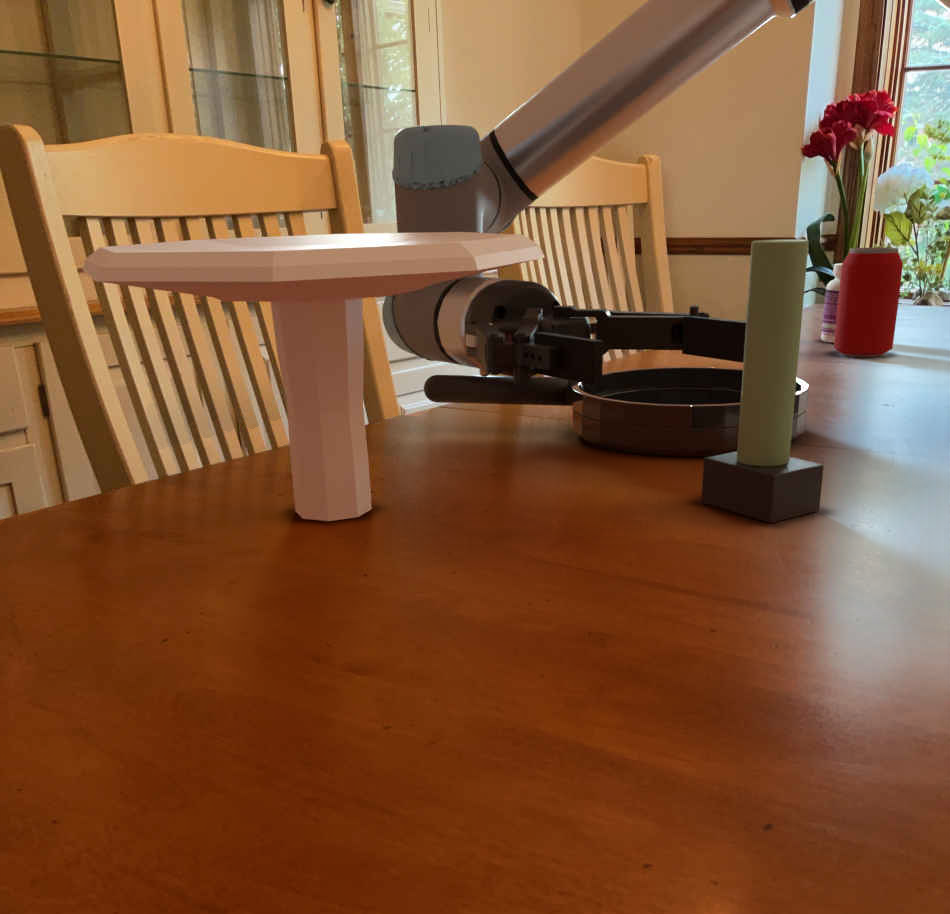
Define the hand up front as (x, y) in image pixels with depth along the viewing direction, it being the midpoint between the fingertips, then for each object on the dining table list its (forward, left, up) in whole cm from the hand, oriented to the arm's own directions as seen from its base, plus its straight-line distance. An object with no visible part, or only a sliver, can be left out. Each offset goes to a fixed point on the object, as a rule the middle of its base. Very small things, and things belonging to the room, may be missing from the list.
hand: (678, 352), depth 70 cm
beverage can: (-15, -65, -9) cm, 67 cm away
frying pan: (+1, -17, -9) cm, 19 cm away
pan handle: (+17, -17, -7) cm, 25 cm away
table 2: (+21, +11, -9) cm, 25 cm away
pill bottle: (-13, -77, -9) cm, 78 cm away
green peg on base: (-6, +5, -9) cm, 12 cm away
